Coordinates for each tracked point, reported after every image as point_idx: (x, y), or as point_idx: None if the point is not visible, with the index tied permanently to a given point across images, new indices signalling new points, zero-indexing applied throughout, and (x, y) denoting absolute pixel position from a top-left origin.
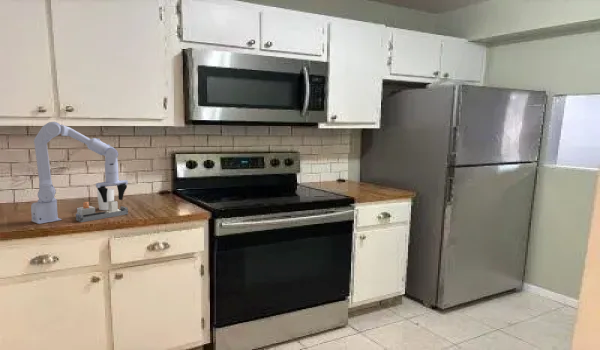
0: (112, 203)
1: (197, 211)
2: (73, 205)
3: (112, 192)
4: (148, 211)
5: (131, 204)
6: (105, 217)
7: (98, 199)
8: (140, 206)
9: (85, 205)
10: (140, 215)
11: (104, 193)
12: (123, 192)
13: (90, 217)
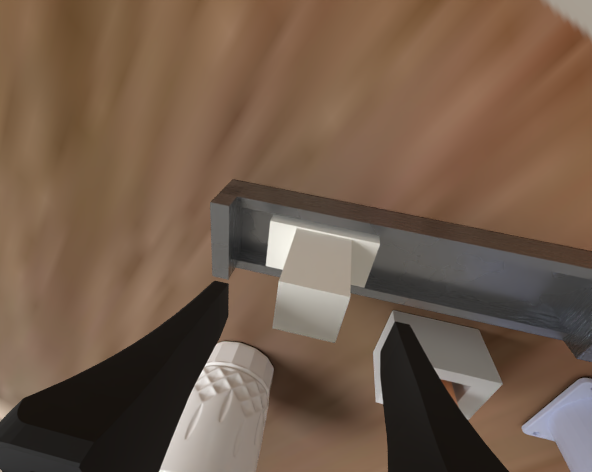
0: (338, 285)
1: None
2: (287, 466)
3: (170, 448)
4: (73, 116)
5: (101, 336)
6: (419, 219)
7: (262, 437)
8: (76, 275)
9: None
10: (186, 35)
11: (476, 444)
12: (154, 340)
13: (557, 256)
